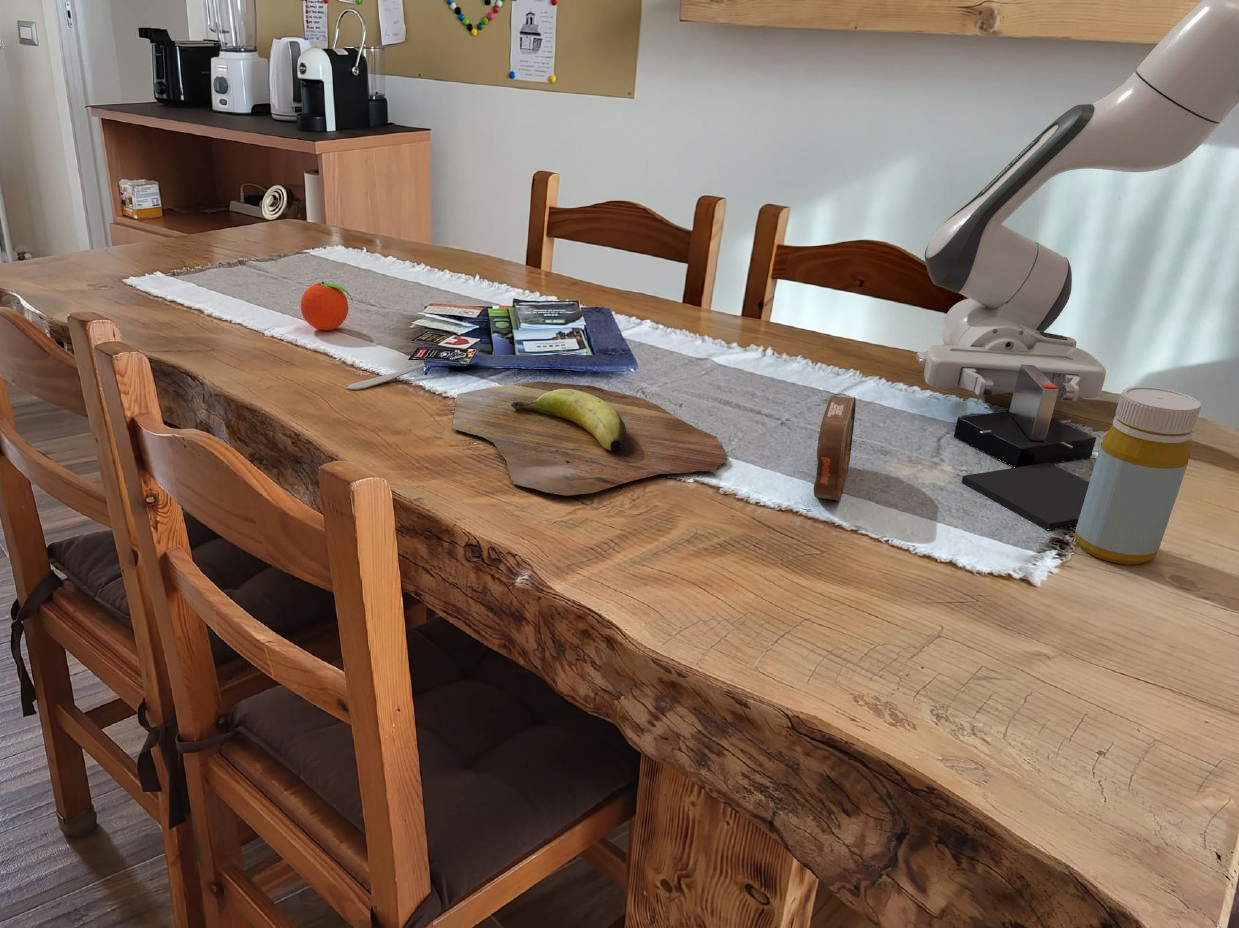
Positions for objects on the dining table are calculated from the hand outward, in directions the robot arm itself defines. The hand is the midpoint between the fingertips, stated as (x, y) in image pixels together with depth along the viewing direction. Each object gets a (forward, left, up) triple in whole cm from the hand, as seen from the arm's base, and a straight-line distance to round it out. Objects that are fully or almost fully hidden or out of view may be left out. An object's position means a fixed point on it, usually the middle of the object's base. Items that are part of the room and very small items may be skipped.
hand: (1028, 392), depth 119 cm
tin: (+29, +4, -6) cm, 30 cm away
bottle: (+12, +25, -6) cm, 28 cm away
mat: (+9, +14, -6) cm, 18 cm away
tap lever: (+1, +2, -3) cm, 4 cm away
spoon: (+61, -42, -6) cm, 74 cm away
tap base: (+1, +2, -6) cm, 6 cm away
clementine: (+68, -66, -6) cm, 95 cm away
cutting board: (+49, -17, -6) cm, 53 cm away
